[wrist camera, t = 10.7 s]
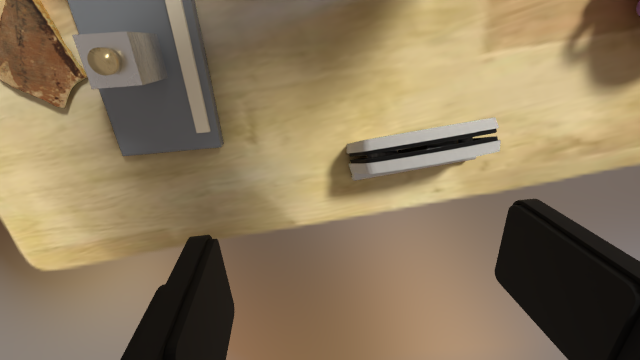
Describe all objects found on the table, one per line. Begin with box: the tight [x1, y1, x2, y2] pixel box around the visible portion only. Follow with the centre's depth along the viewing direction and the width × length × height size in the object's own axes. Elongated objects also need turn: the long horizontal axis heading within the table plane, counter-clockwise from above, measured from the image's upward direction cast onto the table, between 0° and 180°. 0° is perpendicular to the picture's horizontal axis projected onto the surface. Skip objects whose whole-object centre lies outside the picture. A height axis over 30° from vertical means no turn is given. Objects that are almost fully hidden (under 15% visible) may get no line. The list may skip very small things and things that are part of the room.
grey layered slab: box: [347, 118, 500, 181], centre depth 35 cm, size 17×5×10 cm, turn 98°
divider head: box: [72, 31, 168, 89], centre depth 27 cm, size 4×4×8 cm
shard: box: [0, 0, 87, 108], centre depth 30 cm, size 11×8×2 cm
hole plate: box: [67, 0, 224, 156], centre depth 29 cm, size 28×11×2 cm, turn 4°
